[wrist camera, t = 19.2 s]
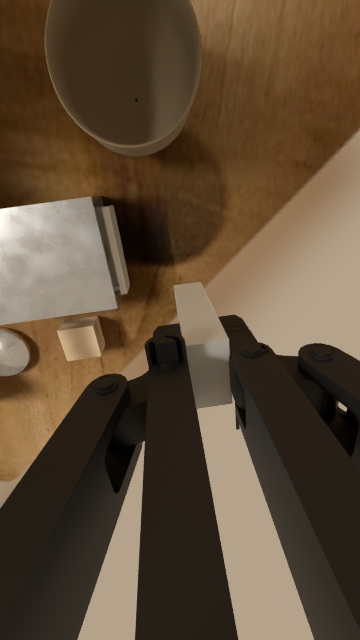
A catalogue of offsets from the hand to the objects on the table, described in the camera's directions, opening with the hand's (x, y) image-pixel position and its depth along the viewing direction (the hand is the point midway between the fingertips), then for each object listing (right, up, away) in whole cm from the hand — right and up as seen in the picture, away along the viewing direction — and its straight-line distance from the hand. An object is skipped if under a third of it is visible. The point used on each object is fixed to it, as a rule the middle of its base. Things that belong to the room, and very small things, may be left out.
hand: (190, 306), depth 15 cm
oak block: (-15, -3, +27) cm, 31 cm away
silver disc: (-28, -5, +28) cm, 40 cm away
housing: (-17, +8, +22) cm, 29 cm away
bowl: (-6, +24, +16) cm, 29 cm away
